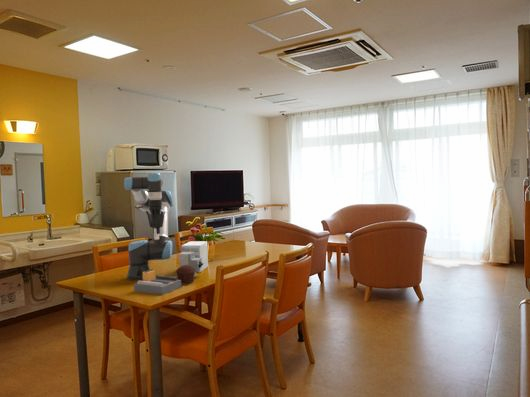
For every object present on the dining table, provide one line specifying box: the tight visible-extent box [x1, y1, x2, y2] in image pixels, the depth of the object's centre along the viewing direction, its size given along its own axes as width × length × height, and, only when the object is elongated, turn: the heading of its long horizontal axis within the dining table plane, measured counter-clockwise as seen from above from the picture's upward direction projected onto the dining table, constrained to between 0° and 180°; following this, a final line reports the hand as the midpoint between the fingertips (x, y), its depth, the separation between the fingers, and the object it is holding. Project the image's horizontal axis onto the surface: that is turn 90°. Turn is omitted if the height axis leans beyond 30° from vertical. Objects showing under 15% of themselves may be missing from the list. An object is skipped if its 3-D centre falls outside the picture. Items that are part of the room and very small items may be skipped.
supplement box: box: [180, 240, 209, 273], centre depth 274 cm, size 17×13×18 cm
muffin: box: [175, 265, 196, 285], centre depth 240 cm, size 12×11×10 cm
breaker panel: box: [133, 274, 182, 295], centre depth 226 cm, size 20×16×6 cm
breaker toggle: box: [142, 268, 156, 281], centre depth 229 cm, size 4×6×6 cm, turn 155°
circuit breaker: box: [177, 252, 203, 277], centre depth 254 cm, size 8×14×15 cm, turn 78°
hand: (156, 239), depth 238 cm, fingers closed
